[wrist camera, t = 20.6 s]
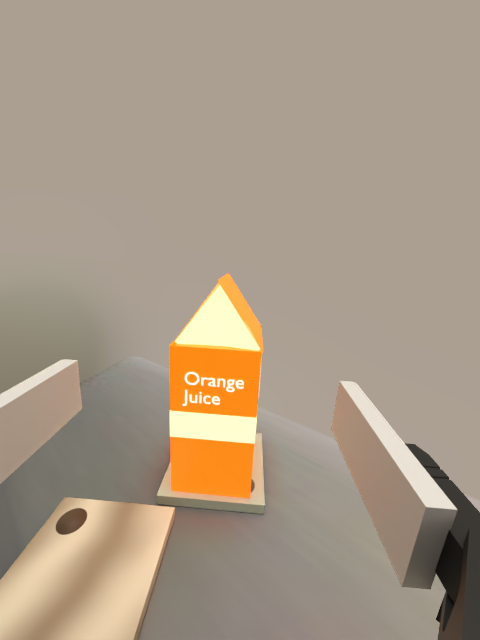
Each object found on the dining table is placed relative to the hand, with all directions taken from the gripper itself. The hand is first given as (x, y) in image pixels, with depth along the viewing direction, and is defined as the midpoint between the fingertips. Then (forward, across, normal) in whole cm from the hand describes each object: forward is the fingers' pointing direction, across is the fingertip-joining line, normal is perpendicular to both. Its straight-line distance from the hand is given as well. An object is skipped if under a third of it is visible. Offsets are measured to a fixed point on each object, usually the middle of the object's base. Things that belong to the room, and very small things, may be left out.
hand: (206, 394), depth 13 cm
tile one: (+2, -8, -16) cm, 18 cm away
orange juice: (+12, 0, -15) cm, 20 cm away
